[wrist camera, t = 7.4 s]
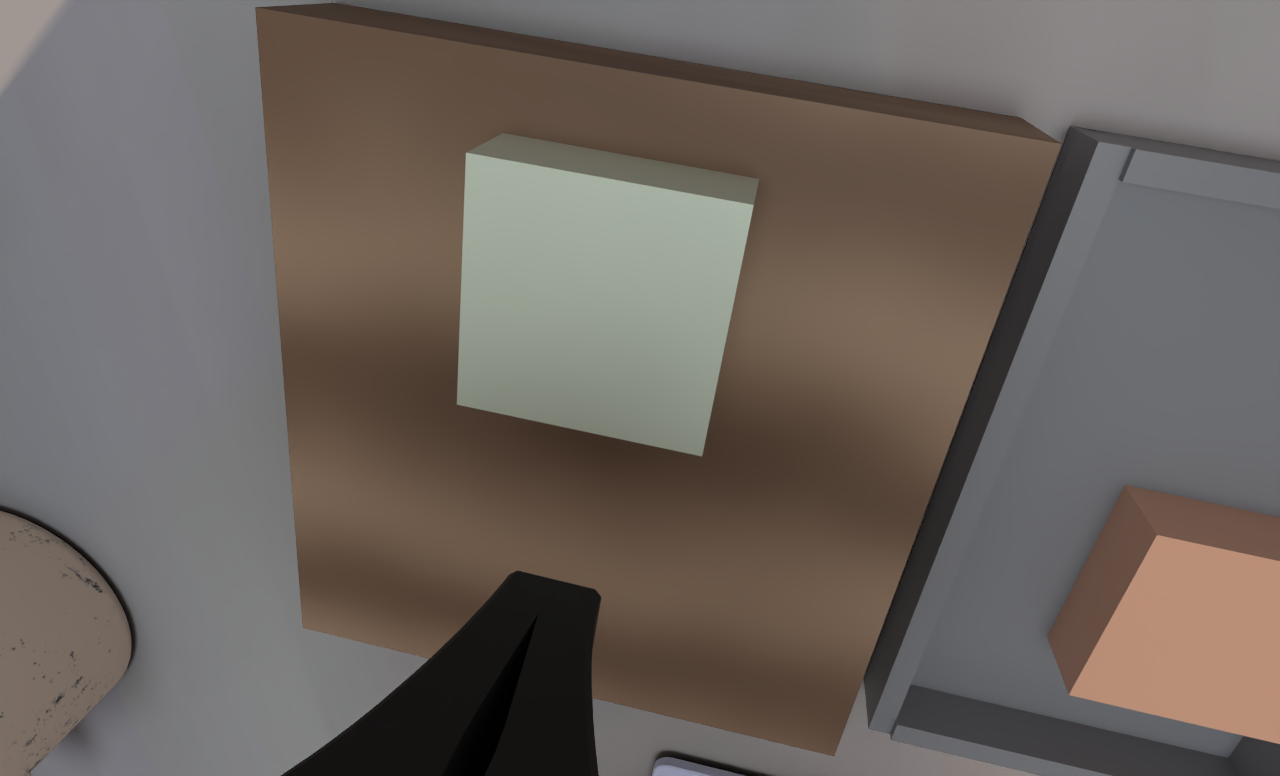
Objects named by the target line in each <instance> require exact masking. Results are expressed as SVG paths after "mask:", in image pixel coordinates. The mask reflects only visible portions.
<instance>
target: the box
mask: <svg viewBox="0 0 1280 776" xmlns="http://www.w3.org/2000/svg"><path fill="white" fill-rule="evenodd" d="M1125 485H1128V486H1133V487H1138V488H1142V489H1147V490H1152V491H1157V492H1161V493H1166V494H1171V495H1176V496H1181V497H1185V498H1190V499H1195V500H1200V501H1204V502H1209V503H1214V504H1219V505H1224V506H1228V507H1233V508H1238V509H1243V510H1247V511H1252V512H1257V513H1262V514H1267V515H1271V516H1276V517H1280V161H1276V160H1270V159H1264V158H1258V157H1252V156H1246V155H1240V154H1234V153H1228V152H1222V151H1216V150H1210V149H1204V148H1198V147H1192V146H1186V145H1180V144H1174V143H1168V142H1162V141H1156V140H1150V139H1144V138H1138V137H1132V136H1126V135H1120V134H1114V133H1108V132H1102V131H1096V130H1090V129H1085V128H1079V127H1073V126H1070V129H1069V131H1068V134H1067V137H1066V139H1065V142H1064V145H1063V147H1062V150H1061V153H1060V156H1059V158H1058V161H1057V164H1056V166H1055V169H1054V172H1053V174H1052V177H1051V180H1050V182H1049V185H1048V188H1047V190H1046V193H1045V196H1044V198H1043V201H1042V204H1041V206H1040V209H1039V212H1038V215H1037V217H1036V220H1035V223H1034V225H1033V228H1032V231H1031V233H1030V236H1029V239H1028V241H1027V244H1026V247H1025V249H1024V252H1023V255H1022V257H1021V260H1020V263H1019V265H1018V268H1017V271H1016V274H1015V276H1014V279H1013V282H1012V284H1011V287H1010V290H1009V292H1008V295H1007V298H1006V300H1005V303H1004V306H1003V308H1002V311H1001V314H1000V316H999V319H998V322H997V324H996V327H995V330H994V332H993V335H992V338H991V341H990V343H989V346H988V349H987V351H986V354H985V357H984V359H983V362H982V365H981V367H980V370H979V373H978V375H977V378H976V381H975V383H974V386H973V389H972V391H971V394H970V397H969V400H968V402H967V405H966V408H965V410H964V413H963V416H962V418H961V421H960V424H959V426H958V429H957V432H956V434H955V437H954V440H953V442H952V445H951V448H950V450H949V453H948V456H947V459H946V461H945V464H944V467H943V469H942V472H941V475H940V477H939V480H938V483H937V485H936V488H935V491H934V493H933V496H932V499H931V501H930V504H929V507H928V509H927V512H926V515H925V517H924V520H923V523H922V526H921V528H920V531H919V534H918V536H917V539H916V542H915V544H914V547H913V550H912V552H911V555H910V558H909V560H908V563H907V566H906V568H905V571H904V574H903V576H902V579H901V582H900V585H899V587H898V590H897V593H896V595H895V598H894V601H893V603H892V606H891V609H890V611H889V614H888V617H887V619H886V622H885V625H884V627H883V630H882V633H881V635H880V638H879V641H878V643H877V646H876V649H875V652H874V654H873V657H872V660H871V662H870V665H869V668H868V670H867V673H866V676H865V678H864V684H865V695H866V706H867V717H868V728H869V729H872V730H877V731H881V732H885V733H889V734H890V735H891V740H894V741H898V742H903V743H907V744H911V745H915V746H919V747H924V748H928V749H932V750H936V751H940V752H945V753H949V754H953V755H957V756H961V757H966V758H970V759H974V760H978V761H982V762H986V763H991V764H995V765H999V766H1003V767H1007V768H1012V769H1016V770H1020V771H1024V772H1028V773H1033V774H1037V775H1041V776H1280V744H1277V743H1273V742H1269V741H1264V740H1260V739H1256V738H1251V737H1247V736H1243V735H1238V734H1234V733H1230V732H1226V731H1221V730H1217V729H1213V728H1208V727H1204V726H1200V725H1196V724H1191V723H1187V722H1183V721H1178V720H1174V719H1170V718H1165V717H1161V716H1157V715H1153V714H1148V713H1144V712H1140V711H1135V710H1131V709H1127V708H1123V707H1118V706H1114V705H1110V704H1105V703H1101V702H1097V701H1092V700H1088V699H1084V698H1080V697H1075V696H1071V695H1069V694H1068V692H1067V689H1066V686H1065V684H1064V681H1063V678H1062V676H1061V673H1060V670H1059V668H1058V665H1057V662H1056V660H1055V657H1054V654H1053V652H1052V649H1051V646H1050V644H1049V641H1048V638H1047V637H1048V635H1049V633H1050V631H1051V629H1052V627H1053V625H1054V623H1055V621H1056V619H1057V617H1058V615H1059V613H1060V611H1061V609H1062V607H1063V605H1064V603H1065V602H1066V600H1067V598H1068V596H1069V594H1070V592H1071V590H1072V588H1073V586H1074V584H1075V582H1076V580H1077V578H1078V576H1079V574H1080V572H1081V570H1082V568H1083V566H1084V564H1085V562H1086V560H1087V558H1088V556H1089V555H1090V553H1091V551H1092V549H1093V547H1094V545H1095V543H1096V541H1097V539H1098V537H1099V535H1100V533H1101V531H1102V529H1103V527H1104V525H1105V523H1106V521H1107V519H1108V517H1109V515H1110V513H1111V511H1112V510H1113V508H1114V506H1115V504H1116V502H1117V500H1118V498H1119V496H1120V494H1121V492H1122V490H1123V488H1124V486H1125Z"/></svg>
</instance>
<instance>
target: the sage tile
mask: <svg viewBox="0 0 1280 776" xmlns="http://www.w3.org/2000/svg"><path fill="white" fill-rule="evenodd" d="M758 182H759V179H757V178H751V177H746V176H740V175H735V174H729V173H723V172H718V171H712V170H707V169H701V168H696V167H690V166H684V165H679V164H673V163H668V162H662V161H656V160H651V159H645V158H640V157H634V156H629V155H623V154H617V153H612V152H606V151H601V150H595V149H589V148H584V147H578V146H573V145H567V144H562V143H556V142H550V141H545V140H539V139H534V138H528V137H522V136H517V135H511V134H506V133H502V134H501V135H499V136H497V137H495V138H493V139H491V140H489V141H487V142H485V143H483V144H481V145H480V146H478V147H476V148H474V149H472V150H470V151H468V152H466V165H465V192H464V220H463V247H462V275H461V302H460V330H459V357H458V385H457V405H461V406H466V407H471V408H476V409H480V410H485V411H490V412H495V413H499V414H504V415H509V416H513V417H518V418H523V419H528V420H532V421H537V422H542V423H547V424H551V425H556V426H561V427H565V428H570V429H575V430H580V431H584V432H589V433H594V434H598V435H603V436H608V437H613V438H617V439H622V440H627V441H632V442H636V443H641V444H646V445H650V446H655V447H660V448H665V449H669V450H674V451H679V452H684V453H688V454H693V455H698V456H702V455H703V450H704V445H705V440H706V435H707V430H708V426H709V421H710V416H711V411H712V406H713V401H714V396H715V391H716V387H717V382H718V377H719V372H720V367H721V362H722V357H723V353H724V348H725V343H726V338H727V333H728V328H729V323H730V318H731V314H732V309H733V304H734V299H735V294H736V289H737V284H738V280H739V275H740V270H741V265H742V260H743V255H744V250H745V245H746V241H747V236H748V231H749V226H750V221H751V216H752V211H753V207H754V202H755V197H756V192H757V187H758Z"/></svg>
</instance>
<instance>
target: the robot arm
mask: <svg viewBox="0 0 1280 776" xmlns="http://www.w3.org/2000/svg"><path fill="white" fill-rule="evenodd" d="M600 603H601V596H600V594H599V593H598V592H597V591H596V589H592V588H588V587H584V586H580V585H576V584H572V583H567V582H563V581H559V580H555V579H551V578H547V577H543V576H538V575H534V574H530V573H526V572H522V571H518V570H517V571H515V572H513V573H511V574H509V575H508V577H507V578H506V579H505V580H504V582H503V583H502V584H501V585H500V586H499V588H498V589H497V590H496V591H495V592H494V593H493V595H492V596H491V597H490V598H489V599H488V600H487V601H486V602H485V604H484V605H483V606H482V607H481V608H480V609H479V610H478V611H477V612H476V613H475V614H474V615H473V616H472V617H471V618H470V619H469V620H468V622H467V623H466V624H465V625H464V626H463V627H462V628H461V629H460V630H459V631H458V632H457V633H456V634H455V635H454V636H453V637H452V638H451V639H450V640H449V641H447V642H446V643H445V644H444V645H443V646H442V647H441V648H440V649H439V650H438V651H437V652H436V653H435V654H434V655H433V656H432V657H431V658H430V659H429V660H428V661H427V662H426V663H425V664H424V665H422V666H421V667H420V668H419V669H418V670H417V671H416V672H415V673H414V674H412V675H411V676H410V677H409V678H408V679H407V680H405V681H404V682H403V683H402V684H401V685H400V686H398V687H397V688H396V689H395V690H394V691H393V692H392V693H390V694H389V695H388V696H387V697H386V698H385V699H383V700H382V701H381V702H380V703H379V704H378V705H376V706H375V707H374V708H373V709H371V710H370V711H369V712H368V713H366V714H365V715H364V716H363V717H361V718H360V719H359V720H358V721H356V722H355V723H354V724H353V725H351V726H350V727H349V728H347V729H346V730H345V731H343V732H342V733H341V734H339V735H338V736H337V737H335V738H334V739H333V740H331V741H330V742H329V743H327V744H326V745H325V746H323V747H322V748H320V749H319V750H318V751H316V752H315V753H313V754H312V755H311V756H309V757H308V758H306V759H305V760H303V761H302V762H300V763H299V764H297V765H296V766H294V767H293V768H291V769H290V770H288V771H287V772H286V773H284V774H283V775H281V776H599V775H598V767H597V758H596V748H595V738H594V725H593V705H592V649H593V643H594V638H595V632H596V626H597V620H598V614H599V609H600ZM652 776H745V775H741V774H737V773H733V772H729V771H725V770H721V769H716V768H712V767H708V766H704V765H700V764H696V763H692V762H688V761H684V760H680V759H676V758H672V757H663V758H660V759H658V760H656V762H655V764H654V768H653V773H652Z"/></svg>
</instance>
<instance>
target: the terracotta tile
mask: <svg viewBox="0 0 1280 776" xmlns="http://www.w3.org/2000/svg"><path fill="white" fill-rule="evenodd" d="M1047 638H1048V641H1049V644H1050V646H1051V649H1052V652H1053V654H1054V657H1055V660H1056V662H1057V665H1058V668H1059V670H1060V673H1061V676H1062V678H1063V681H1064V684H1065V686H1066V689H1067V692H1068V694H1069V695H1071V696H1075V697H1080V698H1084V699H1088V700H1092V701H1097V702H1101V703H1105V704H1110V705H1114V706H1118V707H1123V708H1127V709H1131V710H1135V711H1140V712H1144V713H1148V714H1153V715H1157V716H1161V717H1165V718H1170V719H1174V720H1178V721H1183V722H1187V723H1191V724H1196V725H1200V726H1204V727H1208V728H1213V729H1217V730H1221V731H1226V732H1230V733H1234V734H1238V735H1243V736H1247V737H1251V738H1256V739H1260V740H1264V741H1269V742H1273V743H1277V744H1280V517H1276V516H1271V515H1267V514H1262V513H1257V512H1252V511H1247V510H1243V509H1238V508H1233V507H1228V506H1224V505H1219V504H1214V503H1209V502H1204V501H1200V500H1195V499H1190V498H1185V497H1181V496H1176V495H1171V494H1166V493H1161V492H1157V491H1152V490H1147V489H1142V488H1138V487H1133V486H1128V485H1125V486H1124V488H1123V490H1122V492H1121V494H1120V496H1119V498H1118V500H1117V502H1116V504H1115V506H1114V508H1113V510H1112V511H1111V513H1110V515H1109V517H1108V519H1107V521H1106V523H1105V525H1104V527H1103V529H1102V531H1101V533H1100V535H1099V537H1098V539H1097V541H1096V543H1095V545H1094V547H1093V549H1092V551H1091V553H1090V555H1089V556H1088V558H1087V560H1086V562H1085V564H1084V566H1083V568H1082V570H1081V572H1080V574H1079V576H1078V578H1077V580H1076V582H1075V584H1074V586H1073V588H1072V590H1071V592H1070V594H1069V596H1068V598H1067V600H1066V602H1065V603H1064V605H1063V607H1062V609H1061V611H1060V613H1059V615H1058V617H1057V619H1056V621H1055V623H1054V625H1053V627H1052V629H1051V631H1050V633H1049V635H1048V637H1047Z"/></svg>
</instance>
